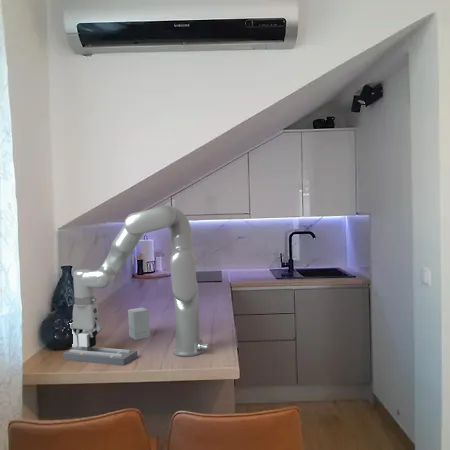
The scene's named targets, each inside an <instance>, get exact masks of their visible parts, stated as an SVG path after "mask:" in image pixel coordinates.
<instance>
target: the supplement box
mask: <svg viewBox="0 0 450 450" xmlns="http://www.w3.org/2000/svg"><path fill="white" fill-rule="evenodd" d="M149 316H150V312H149V309H148V308H146V307H145V308H144V307H137V308H131V309H128V310H127V317H128V318H127V320H128V335H129V336H128V337H129V338H131V339H133V340H134V341H137V340H142V339H147V338H150V337H151V332H150V317H149Z"/></svg>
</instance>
